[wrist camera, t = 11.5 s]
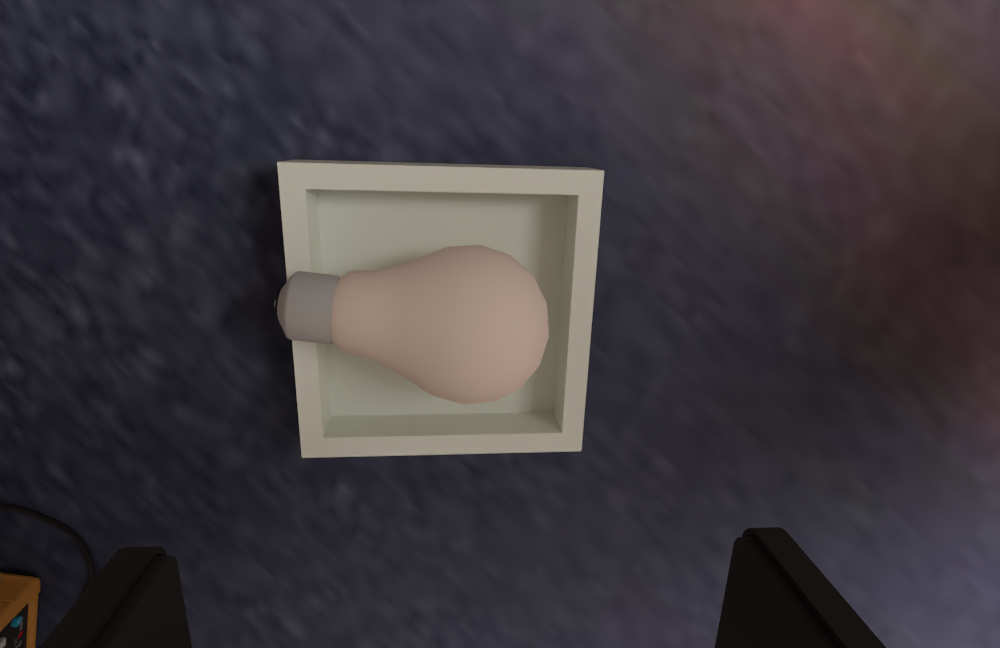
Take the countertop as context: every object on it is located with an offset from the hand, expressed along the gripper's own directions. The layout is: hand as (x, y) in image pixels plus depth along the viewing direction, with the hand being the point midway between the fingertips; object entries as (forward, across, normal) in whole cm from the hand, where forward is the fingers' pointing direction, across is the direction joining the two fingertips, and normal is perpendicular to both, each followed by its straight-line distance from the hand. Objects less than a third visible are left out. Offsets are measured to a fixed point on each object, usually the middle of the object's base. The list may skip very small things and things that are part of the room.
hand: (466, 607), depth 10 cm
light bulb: (+17, +2, -1) cm, 18 cm away
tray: (+19, 0, 0) cm, 19 cm away
